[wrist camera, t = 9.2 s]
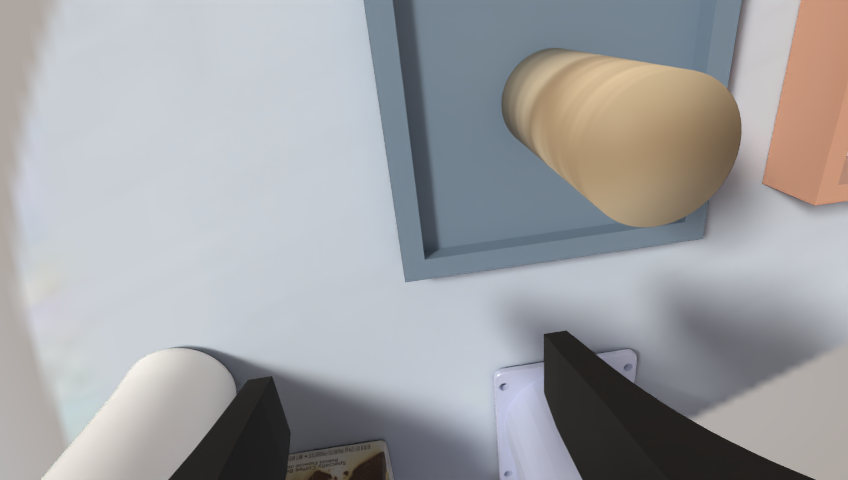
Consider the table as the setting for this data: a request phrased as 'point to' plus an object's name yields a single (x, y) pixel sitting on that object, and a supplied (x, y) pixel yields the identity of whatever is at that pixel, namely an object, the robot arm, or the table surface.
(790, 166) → the hollow square frame
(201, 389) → the white cylindrical piece
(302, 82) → the table surface
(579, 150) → the maple peg
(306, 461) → the coffee box
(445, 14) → the slate tray
